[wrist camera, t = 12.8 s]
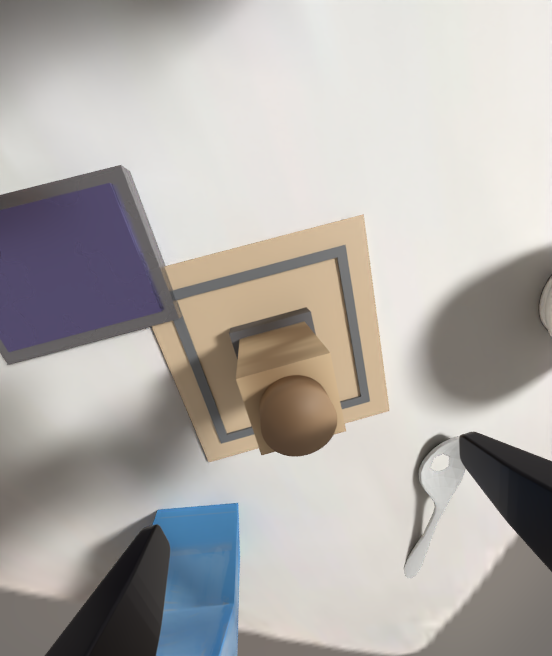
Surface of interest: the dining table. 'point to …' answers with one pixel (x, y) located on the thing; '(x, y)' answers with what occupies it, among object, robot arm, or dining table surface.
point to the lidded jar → (546, 306)
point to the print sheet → (266, 301)
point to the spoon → (436, 496)
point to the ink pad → (78, 265)
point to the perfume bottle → (201, 581)
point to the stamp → (287, 383)
